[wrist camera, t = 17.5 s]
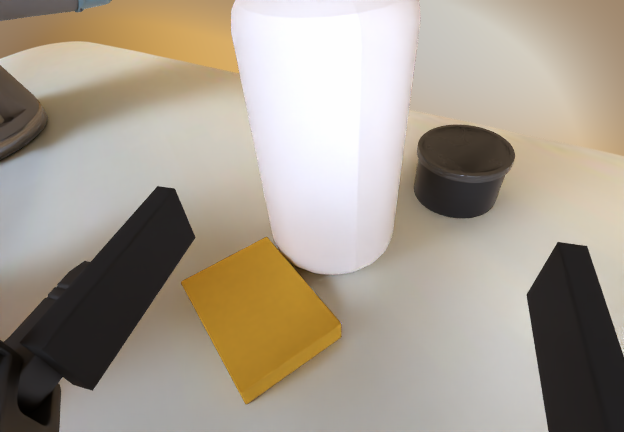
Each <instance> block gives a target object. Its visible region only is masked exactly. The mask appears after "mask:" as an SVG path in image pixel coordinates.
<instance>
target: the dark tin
mask: <svg viewBox="0 0 624 432" xmlns="http://www.w3.org/2000/svg"><path fill="white" fill-rule="evenodd" d="M417 155H418V158H419V159H418V165H417V171H416V177H415V183H414V192H415V195H416V197H417V199H418V200H419V201H420V202H421V203H422V204H423V205H424V206H425V207H427V208H428V209H430V210H431V211H433V212H435V213H438V214H441V215H444V216H448V217H454V218H471V217H476V216H479V215H482V214H484V213H486V212H487V211H488V210H490V209H491V208H492V207H493V205H494V203H495V201H496V198H497V195H498V193H499V190H500V187H501V185H502V182H503V179H504V177H505V174H507V173H508V171H509V170H510V169H511V167H512V165H513V162H514V159H515V153H514V149H513V147H512V146H511V145H510V143H509V142H508V141H507V140H505V139H504V138H503V137H501V136H500V135H498V134H496V133H494V132H492V131H489V130H486V129H483V128H480V127H475V126H469V125H446V126H441V127H437V128H434V129H432V130H430V131H428V132H426V133H425V134H424V135H423V136H422V137H421V138H420V140H419V142H418V147H417Z"/></svg>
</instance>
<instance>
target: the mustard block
mask: <svg viewBox="0 0 624 432" xmlns="http://www.w3.org/2000/svg"><path fill="white" fill-rule="evenodd" d="M181 284H182V286H183V288H184V290H185V291H186V293H187V295H188V297H189V299H190V301H191V303H192V305H193V306H194V308H195V310H196V312H197V314H198V316H199V318H200V320H201V321H202V323H203V325H204V327H205V329H206V331H207V333H208V335H209V336H210V338H211V340H212V342H213V344H214V346H215V348H216V350H217V351H218V353H219V355H220V357H221V359H222V361H223V363H224V365H225V366H226V368H227V370H228V372H229V374H230V376H231V378H232V380H233V381H234V383H235V385H236V387H237V389H238V391H239V393H240V395H241V396H242V398H243V400H244V402H245V404H248V403H249V402H251V401H252V400H253V399H255V398H256V397H258V396H259V395H261V394H262V393H263V392H265V391H266V390H268V389H269V388H270V387H272V386H273V385H275V384H276V383H277V382H279V381H280V380H282V379H283V378H285V377H286V376H287V375H289V374H290V373H292V372H293V371H294V370H296V369H297V368H299V367H300V366H301V365H303V364H304V363H306V362H307V361H309V360H310V359H311V358H313V357H314V356H316V355H317V354H318V353H320V352H321V351H323V350H324V349H325V348H327V347H328V346H330V345H331V344H333V343H334V342H335V341H337V340H338V339H340V338H341V323H340V322H339V320H338V319H337V318H336V317H335V316H334V315H333V313H332V312H331V311H330V310H329V309H328V308H327V306H326V305H325V304H324V303H323V302H322V301H321V299H320V298H319V297H318V296H317V295H316V294H315V292H314V291H313V290H312V289H311V288H310V287H309V285H308V284H307V283H306V282H305V281H304V280H303V278H302V277H301V276H300V275H299V274H298V272H297V271H296V270H295V269H294V268H293V267H292V265H291V264H290V263H289V262H288V261H287V260H286V258H285V257H284V256H283V255H282V254H281V253H280V251H279V250H278V249H277V248H276V247H275V246H274V244H273V243H272V242H271V241H270V240H269V239H268V237H265V238H263V239H261V240H259V241H257V242H255V243H254V244H252V245H250V246H248V247H246V248H244V249H242V250H240V251H238V252H236V253H235V254H233V255H231V256H229V257H227V258H225V259H223V260H221V261H219V262H217V263H216V264H214V265H212V266H210V267H208V268H206V269H204V270H202V271H200V272H198V273H197V274H195V275H193V276H191V277H189V278H187V279H185V280H183V281H182V282H181Z"/></svg>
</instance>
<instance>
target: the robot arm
mask: <svg viewBox="0 0 624 432" xmlns="http://www.w3.org/2000/svg"><path fill="white" fill-rule="evenodd" d="M110 1H112V0H0V21H3V20H10V19H17V18H24V17H31V16H39V15H47V14H55V13H62V12H71V11H75V12H81V11H83V10H84V9H86V8H91V7H96V6H100V5H105V4H108V3H109V2H110ZM47 118H48V117H47V114H46V112H45V110H44V109H43V107H42V106H41V104H40V102H39V101H38V100H37V99H36V98H35V96H34V95H33V94H32V93H31V92H29V91H28V90H27V89H26V88H25V87H24V86H23V85H22V84H21V83H19V82H18V81H17V80H16V79H15V78H14V77H13V76H12V75H11V74H9V73H8V72H7V71H6V70H5V69H4V68H3V67H2V66H0V159H2V158H4V157H6V156H8V155H10V154H12V153H14V152H15V151H17V150H19V149H20V148H22V147H23V146H25V145H26V144H28V143H29V142H30V141H32V140H33V139H34V138H35V137H36V136H37V135H38V134H39V133H40V132H41V131H42V130H43V128H44V127H45V125H46V123H47ZM194 239H195V235H194V233H193V231H192V228H191V226H190V224H189V221H188V219H187V216H186V214H185V212H184V209H183V207H182V204H181V202H180V200H179V197H178V195H177V193H176V190H175V189H174V188H166V187H159V186H157V188H156V189H155V190H154V191H153V192H152V193H151V194H150V195H149V197H148V198H147V199H146V200H145V201H144V202H143V203H142V205H141V206H140V207H139V208H138V209H137V210H136V211H135V212H134V214H133V215H132V216H131V217H130V218H129V219H128V220H127V221H126V223H125V224H124V225H123V226H122V227H121V228H120V229H119V230H118V232H117V233H116V234H115V235H114V236H113V237H112V238H111V240H110V241H109V242H108V243H107V244H106V245H105V246H104V247H103V249H102V250H101V251H100V252H99V253H98V254H97V255H96V256H95V258H94V259H93V260H92V261H91V262H87V261H84V262H83V263H81V264H80V265H78V266H77V267H75V268H74V269H72V270H71V271H69V272H68V274H67V275H66V276H65V277H64V278H63V279H62V280H61V281H60V282H59V283H58V284H57V285H58V286H57V287H55V288H54V289H53V290H52V291H51V292H50V293H49V294H48V297H47V298H45V299H44V300H43V301H42V302H41V303H40V304H39V305H38V306H37V307H36V308H35V310H34V311H33V312H32V313H31V314H30V315H29V316H28V317H27V318H26V319H25V321H24V322H23V323H22V324H21V325H20V326H19V327H18V328H17V329H16V330H15V331H14V333H13V334H12V335H11V336H10V337H9V338H8V339H7V340H5V341H4V342H2V341H1V340H0V432H59V424H60V402H61V389H60V385H59V384H58V383H59V381H60V380H61V379H62V377H64V378H65V379H66V380H68V381H69V382H70V383H72V384H73V385H76V386H79V387H83V388H86V389H89V390H92V391H93V389H94V388H95V386H96V385H97V383H98V382H99V380H100V379H101V377H102V376H103V374H104V373H105V371H106V370H107V368H108V367H109V365H110V364H111V362H112V361H113V359H114V358H115V356H116V355H117V354H118V352H119V351H120V349H121V348H122V346H123V345H124V343H125V342H126V340H127V339H128V337H129V336H130V334H131V333H132V331H133V330H134V328H135V327H136V325H137V324H138V322H139V321H140V319H141V318H142V316H143V315H144V313H145V312H146V310H147V309H148V307H149V306H150V304H151V303H152V301H153V300H154V298H155V297H156V295H157V294H158V292H159V291H160V289H161V288H162V286H163V285H164V283H165V282H166V280H167V279H168V277H169V276H170V275H171V273H172V272H173V270H174V269H175V267H176V266H177V264H178V263H179V261H180V260H181V258H182V257H183V255H184V254H185V252H186V251H187V249H188V248H189V246H190V245H191V243H192V242H193V240H194ZM527 300H528V306H529V313H530V319H531V325H532V331H533V337H534V344H535V350H536V356H537V362H538V369H539V375H540V381H541V387H542V393H543V400H544V406H545V412H546V418H547V425H548V431H549V432H624V356H623V353H622V350H621V347H620V344H619V341H618V338H617V335H616V332H615V329H614V326H613V323H612V320H611V317H610V314H609V311H608V308H607V305H606V302H605V299H604V296H603V293H602V290H601V287H600V284H599V281H598V278H597V275H596V272H595V269H594V266H593V263H592V260H591V257H590V254H589V251H588V248H587V246H582V245H575V244H568V243H561V242H558V243H557V244H556V246H555V248H554V249H553V251H552V253H551V255H550V256H549V258H548V260H547V261H546V263H545V265H544V266H543V268H542V270H541V271H540V273H539V275H538V276H537V278H536V280H535V281H534V283H533V285H532V287H531V288H530V290H529V292H528V293H527Z"/></svg>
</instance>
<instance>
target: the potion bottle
mask: <svg viewBox="0 0 624 432" xmlns="http://www.w3.org/2000/svg"><path fill="white" fill-rule="evenodd" d="M420 19H421V17H420V4H419V0H235V2H234V5H233V7H232V10H231V34H232V39H233V44H234V48H235V53H236V58H237V63H238V68H239V73H240V78H241V83H242V88H243V93H244V98H245V103H246V107H247V112H248V117H249V122H250V127H251V132H252V137H253V142H254V147H255V152H256V156H257V161H258V166H259V171H260V176H261V181H262V186H263V191H264V196H265V201H266V206H267V210H268V215H269V220H270V225H271V230H272V235H273V240H274V242H275V244H276V245H277V247H278V249H279V251H280V252H281V254H282V255H283V256H284V257H285V258H286V259H288V260H289V261H290V262H291V263H293V264H294V265H295V266H297V267H299V268H302V269H305V270H307V271H310V272H313V273H317V274H328V275H338V274H344V273H350V272H355V271H357V270H359V269H361V268H363V267H366V266H368V265H370V264H372V263H373V262H374V261H375V260H376V259H377V258H379V257H380V256H381V255H382V254H383V253H384V252H385V251H386V249H387V246H388V244H389V242H390V240H391V238H392V236H393V229H394V221H395V214H396V206H397V198H398V191H399V183H400V175H401V167H402V160H403V152H404V144H405V136H406V129H407V121H408V113H409V106H410V98H411V90H412V82H413V74H414V67H415V58H416V51H417V43H418V36H419V28H420V21H421V20H420Z"/></svg>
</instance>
